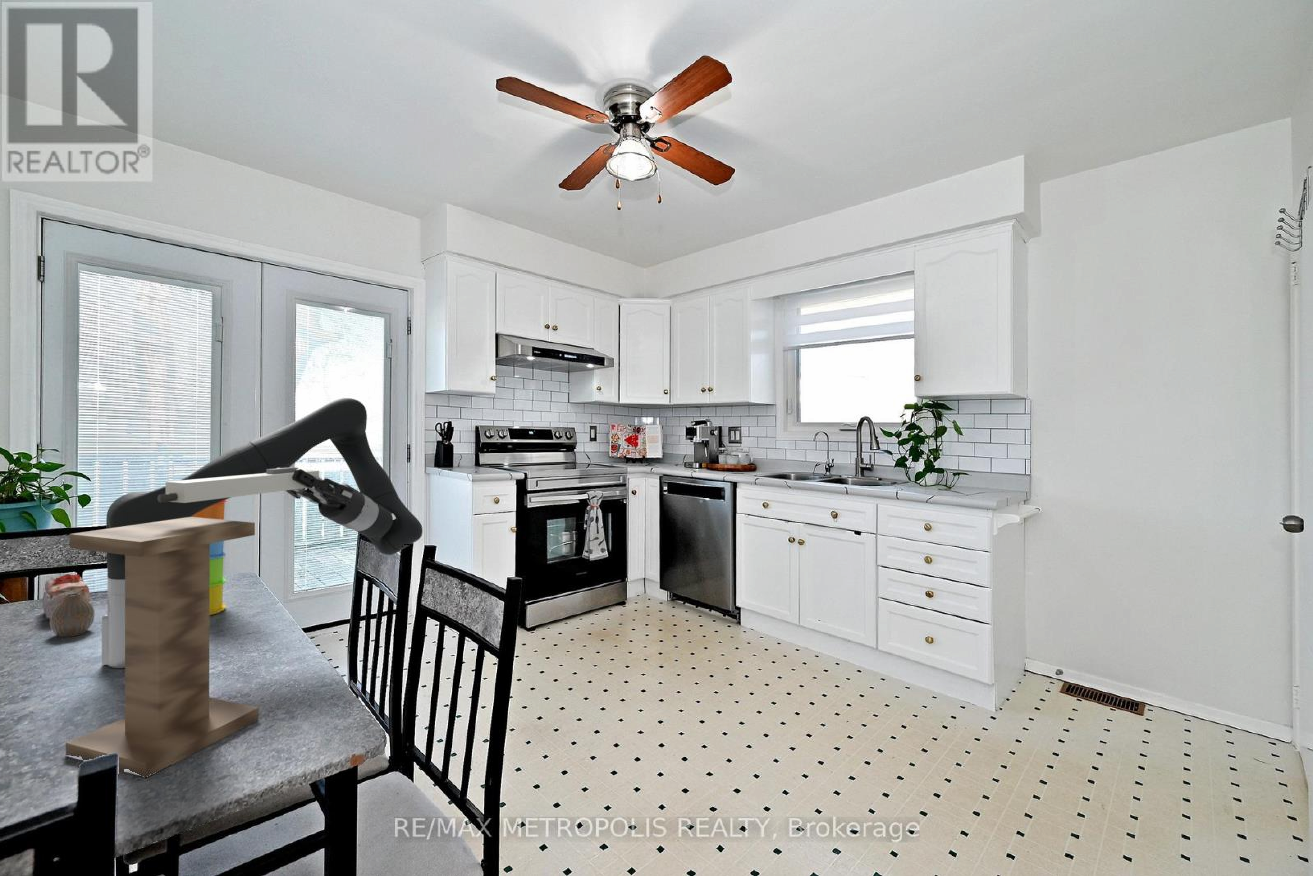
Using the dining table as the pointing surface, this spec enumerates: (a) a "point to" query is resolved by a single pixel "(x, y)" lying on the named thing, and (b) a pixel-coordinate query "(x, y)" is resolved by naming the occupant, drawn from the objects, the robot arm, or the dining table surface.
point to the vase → (72, 616)
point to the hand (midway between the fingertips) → (286, 473)
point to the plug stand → (165, 644)
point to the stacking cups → (215, 559)
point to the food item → (62, 591)
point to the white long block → (232, 486)
